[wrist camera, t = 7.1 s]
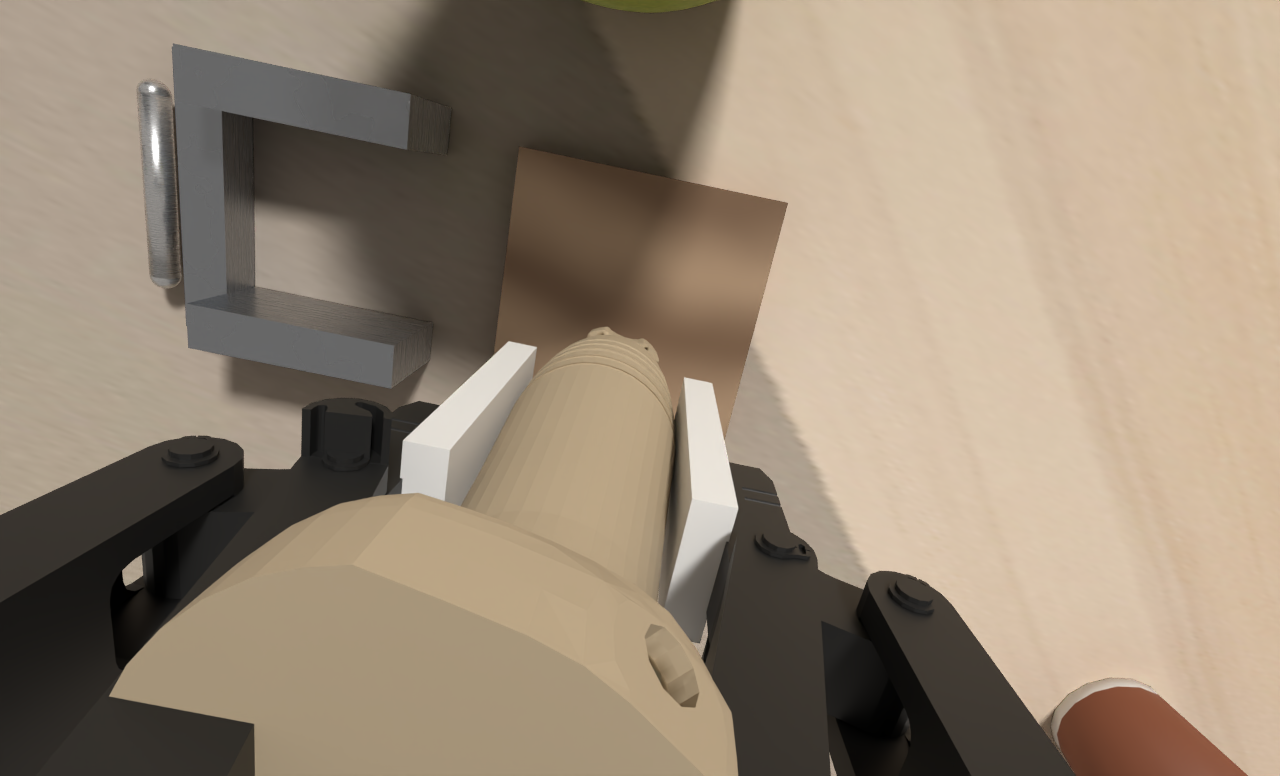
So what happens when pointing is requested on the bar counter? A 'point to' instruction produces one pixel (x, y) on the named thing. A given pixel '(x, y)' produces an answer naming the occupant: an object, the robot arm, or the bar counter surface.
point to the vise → (224, 210)
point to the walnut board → (637, 267)
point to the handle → (471, 610)
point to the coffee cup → (1132, 734)
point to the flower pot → (649, 5)
